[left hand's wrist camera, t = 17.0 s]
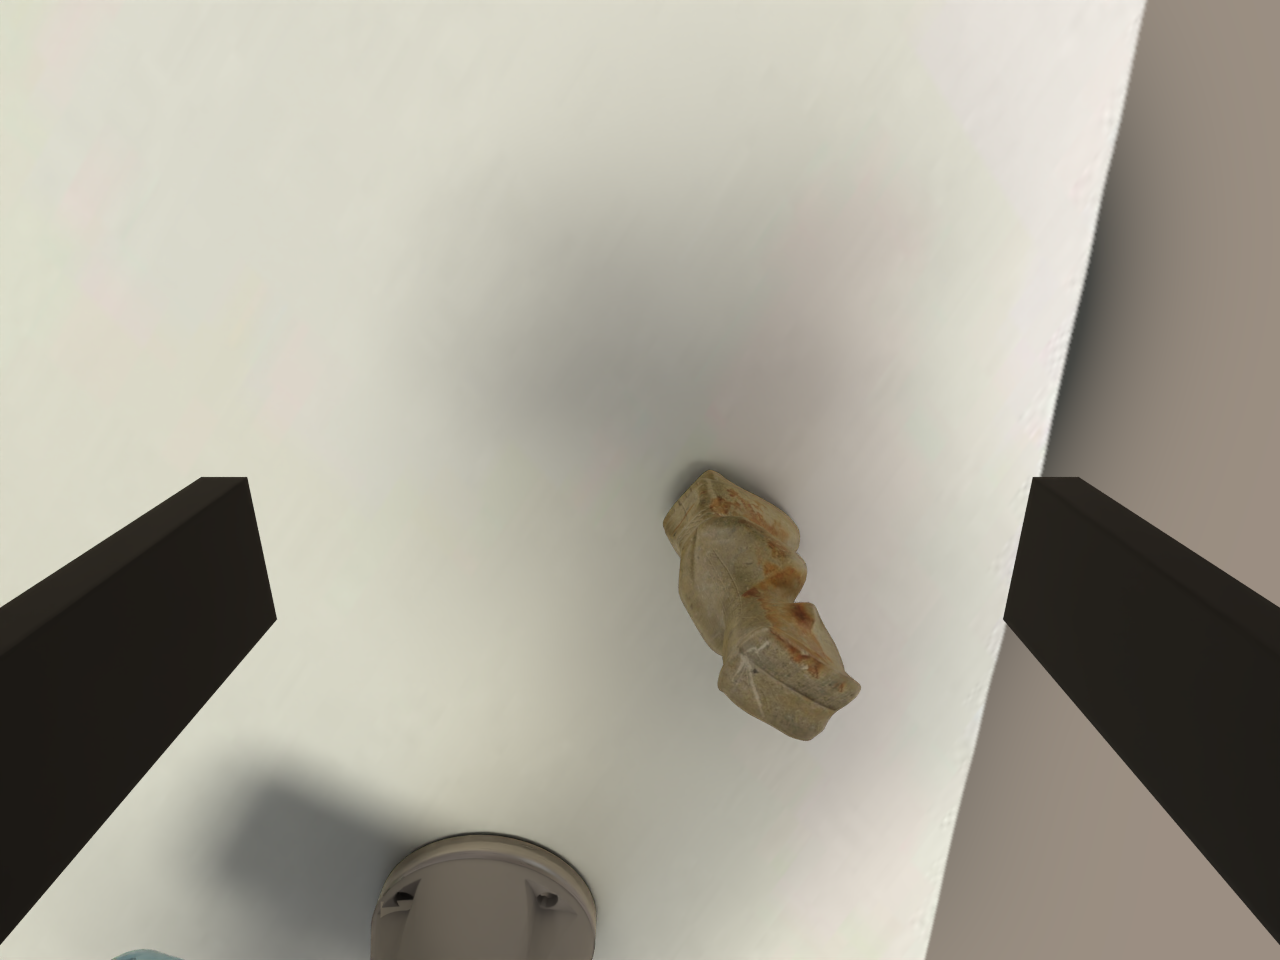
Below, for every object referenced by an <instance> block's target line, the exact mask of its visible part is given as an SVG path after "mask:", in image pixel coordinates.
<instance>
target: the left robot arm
mask: <svg viewBox="0 0 1280 960" xmlns="http://www.w3.org/2000/svg"><path fill="white" fill-rule="evenodd" d="M276 620H277V617H276V612H275V608H274V603H273V598H272V593H271V589H270V584H269V579H268V574H267V570H266V565H265V560H264V555H263V550H262V546H261V541H260V536H259V531H258V527H257V522H256V517H255V512H254V507H253V503H252V498H251V493H250V488H249V484H248V479H247V477H201V478H199V479H198V480H196V481H195V482H193V483H191V484H190V485H188V486H187V487H185V488H184V489H182V490H181V491H179V492H178V493H176V494H175V495H173V496H171V497H170V498H168V499H167V500H165V501H164V502H162V503H161V504H159V505H158V506H156V507H155V508H153V509H151V510H150V511H148V512H147V513H145V514H144V515H142V516H141V517H139V518H138V519H136V520H135V521H133V522H131V523H130V524H128V525H127V526H125V527H124V528H122V529H121V530H119V531H118V532H116V533H115V534H113V535H111V536H110V537H108V538H107V539H105V540H104V541H102V542H101V543H99V544H98V545H96V546H94V547H93V548H91V549H90V550H88V551H87V552H85V553H84V554H82V555H81V556H79V557H78V558H76V559H74V560H73V561H71V562H70V563H68V564H67V565H65V566H64V567H62V568H61V569H59V570H58V571H56V572H54V573H53V574H51V575H50V576H48V577H47V578H45V579H44V580H42V581H41V582H39V583H38V584H36V585H34V586H33V587H31V588H30V589H28V590H27V591H25V592H24V593H22V594H21V595H19V596H18V597H16V598H14V599H13V600H11V601H10V602H8V603H7V604H5V605H4V606H2V607H1V608H0V945H1V943H2V942H3V941H4V940H5V939H6V938H7V936H8V935H9V934H10V933H11V932H12V930H13V929H14V928H15V927H16V926H17V925H18V923H19V922H20V921H21V920H22V919H23V918H24V916H25V915H26V914H27V913H28V912H29V910H30V909H31V908H32V907H33V906H34V905H35V903H36V902H37V901H38V900H39V899H40V898H41V896H42V895H43V894H44V893H45V892H46V890H47V889H48V888H49V887H50V886H51V885H52V883H53V882H54V881H55V880H56V879H57V878H58V876H59V875H60V874H61V873H62V872H63V870H64V869H65V868H66V867H67V866H68V865H69V863H70V862H71V861H72V860H73V859H74V858H75V856H76V855H77V854H78V853H79V852H80V850H81V849H82V848H83V847H84V846H85V845H86V843H87V842H88V841H89V840H90V839H91V838H92V836H93V835H94V834H95V833H96V832H97V830H98V829H99V828H100V827H101V826H102V825H103V823H104V822H105V821H106V820H107V819H108V818H109V816H110V815H111V814H112V813H113V812H114V810H115V809H116V808H117V807H118V806H119V805H120V803H121V802H122V801H123V800H124V799H125V798H126V796H127V795H128V794H129V793H130V792H131V790H132V789H133V788H134V787H135V786H136V785H137V783H138V782H139V781H140V780H141V779H142V778H143V776H144V775H145V774H146V773H147V772H148V770H149V769H150V768H151V767H152V766H153V765H154V763H155V762H156V761H157V760H158V759H159V758H160V756H161V755H162V754H163V753H164V752H165V750H166V749H167V748H168V747H169V746H170V745H171V743H172V742H173V741H174V740H175V739H176V738H177V736H178V735H179V734H180V733H181V732H182V730H183V729H184V728H185V727H186V726H187V725H188V723H189V722H190V721H191V720H192V719H193V718H194V716H195V715H196V714H197V713H198V712H199V710H200V709H201V708H202V707H203V706H204V705H205V703H206V702H207V701H208V700H209V699H210V698H211V696H212V695H213V694H214V693H215V692H216V690H217V689H218V688H219V687H220V686H221V685H222V683H223V682H224V681H225V680H226V679H227V678H228V676H229V675H230V674H231V673H232V672H233V670H234V669H235V668H236V667H237V666H238V665H239V663H240V662H241V661H242V660H243V659H244V658H245V656H246V655H247V654H248V653H249V652H250V650H251V649H252V648H253V647H254V646H255V645H256V643H257V642H258V641H259V640H260V639H261V638H262V636H263V635H264V634H265V633H266V632H267V630H268V629H269V628H270V627H271V626H272V625H273V623H274V622H275V621H276ZM1003 620H1004V621H1005V622H1006V623H1007V625H1008V626H1009V627H1010V628H1011V629H1012V630H1013V632H1014V633H1015V634H1016V635H1017V636H1018V638H1019V639H1020V640H1021V641H1022V642H1023V643H1024V645H1025V646H1026V647H1027V648H1028V649H1029V650H1030V652H1031V653H1032V654H1033V655H1034V656H1035V658H1036V659H1037V660H1038V661H1039V662H1040V663H1041V664H1042V666H1043V667H1044V668H1045V669H1046V670H1047V672H1048V673H1049V674H1050V675H1051V676H1052V678H1053V679H1054V680H1055V681H1056V682H1057V683H1058V685H1059V686H1060V687H1061V688H1062V689H1063V690H1064V692H1065V693H1066V694H1067V695H1068V696H1069V697H1070V699H1071V700H1072V701H1073V702H1074V703H1075V704H1076V706H1077V707H1078V708H1079V709H1080V710H1081V712H1082V713H1083V714H1084V715H1085V716H1086V718H1087V719H1088V720H1089V721H1090V722H1091V723H1092V725H1093V726H1094V727H1095V728H1096V729H1097V730H1098V732H1099V733H1100V734H1101V735H1102V736H1103V738H1104V739H1105V740H1106V741H1107V742H1108V743H1109V745H1110V746H1111V747H1112V748H1113V749H1114V750H1115V752H1116V753H1117V754H1118V755H1119V756H1120V757H1121V759H1122V760H1123V761H1124V762H1125V763H1126V765H1127V766H1128V767H1129V768H1130V769H1131V770H1132V772H1133V773H1134V774H1135V775H1136V776H1137V778H1138V779H1139V780H1140V781H1141V782H1142V783H1143V785H1144V786H1145V787H1146V788H1147V789H1148V790H1149V792H1150V793H1151V794H1152V795H1153V796H1154V797H1155V799H1156V800H1157V801H1158V802H1159V803H1160V805H1161V806H1162V807H1163V808H1164V809H1165V810H1166V812H1167V813H1168V814H1169V815H1170V816H1171V818H1172V819H1173V820H1174V821H1175V822H1176V823H1177V825H1178V826H1179V827H1180V828H1181V829H1182V830H1183V832H1184V833H1185V834H1186V835H1187V836H1188V838H1189V839H1190V840H1191V841H1192V842H1193V843H1194V845H1195V846H1196V847H1197V848H1198V849H1199V850H1200V852H1201V853H1202V854H1203V855H1204V856H1205V858H1206V859H1207V860H1208V861H1209V862H1210V863H1211V865H1212V866H1213V867H1214V868H1215V869H1216V870H1217V872H1218V873H1219V874H1220V875H1221V876H1222V878H1223V879H1224V880H1225V881H1226V882H1227V883H1228V885H1229V886H1230V887H1231V888H1232V889H1233V890H1234V892H1235V893H1236V894H1237V895H1238V896H1239V898H1240V899H1241V900H1242V901H1243V902H1244V903H1245V905H1246V906H1247V907H1248V908H1249V909H1250V910H1251V912H1252V913H1253V914H1254V915H1255V916H1256V918H1257V919H1258V920H1259V921H1260V922H1261V923H1262V925H1263V926H1264V927H1265V928H1266V929H1267V930H1268V932H1269V933H1270V934H1271V935H1272V936H1273V938H1274V939H1275V940H1276V941H1277V942H1278V943H1279V945H1280V608H1279V607H1278V606H1276V605H1275V604H1273V603H1272V602H1270V601H1269V600H1267V599H1266V598H1264V597H1262V596H1261V595H1259V594H1258V593H1256V592H1255V591H1253V590H1252V589H1250V588H1249V587H1247V586H1246V585H1244V584H1242V583H1241V582H1239V581H1238V580H1236V579H1235V578H1233V577H1232V576H1230V575H1228V574H1227V573H1226V572H1224V571H1222V570H1221V569H1219V568H1218V567H1216V566H1215V565H1213V564H1212V563H1210V562H1209V561H1207V560H1206V559H1204V558H1202V557H1201V556H1199V555H1198V554H1196V553H1195V552H1193V551H1192V550H1190V549H1189V548H1187V547H1186V546H1184V545H1182V544H1181V543H1179V542H1178V541H1176V540H1175V539H1173V538H1172V537H1170V536H1169V535H1167V534H1165V533H1164V532H1162V531H1161V530H1159V529H1158V528H1156V527H1155V526H1153V525H1152V524H1150V523H1149V522H1147V521H1145V520H1144V519H1142V518H1141V517H1139V516H1138V515H1136V514H1135V513H1133V512H1132V511H1130V510H1129V509H1127V508H1125V507H1124V506H1122V505H1121V504H1119V503H1118V502H1116V501H1115V500H1113V499H1112V498H1110V497H1108V496H1107V495H1105V494H1104V493H1102V492H1101V491H1099V490H1098V489H1096V488H1095V487H1093V486H1092V485H1090V484H1089V483H1087V482H1085V481H1084V480H1082V479H1081V478H1079V477H1033V479H1032V484H1031V488H1030V493H1029V498H1028V503H1027V507H1026V512H1025V517H1024V522H1023V527H1022V531H1021V536H1020V541H1019V546H1018V550H1017V555H1016V560H1015V565H1014V570H1013V574H1012V579H1011V584H1010V589H1009V593H1008V598H1007V603H1006V608H1005V612H1004V617H1003ZM595 934H596V908H595V904H594V900H593V898H592V895H591V893H590V891H589V889H588V887H587V885H586V884H585V882H584V881H583V879H582V878H581V877H580V876H579V875H578V874H577V872H576V871H575V870H574V869H572V868H571V867H570V866H569V865H568V864H567V863H565V862H564V861H563V860H562V859H560V858H559V857H557V856H555V855H554V854H552V853H550V852H548V851H547V850H545V849H543V848H540V847H538V846H536V845H533V844H530V843H527V842H524V841H521V840H517V839H513V838H508V837H502V836H494V835H466V836H458V837H452V838H447V839H444V840H440V841H437V842H434V843H431V844H429V845H426V846H424V847H422V848H420V849H418V850H416V851H415V852H413V853H411V854H410V855H409V856H407V857H406V858H405V859H403V860H402V861H401V862H400V863H399V864H398V865H397V866H396V867H395V868H394V869H393V871H392V872H391V873H390V875H389V876H388V878H387V880H386V882H385V884H384V886H383V889H382V891H381V894H380V897H379V899H378V902H377V905H376V908H375V910H374V914H373V917H372V922H371V960H592V958H593V954H594V949H595ZM112 960H183V959H180V958H177V957H173V956H170V955H167V954H164V953H161V952H158V951H155V950H149V949H141V950H134V951H130V952H126V953H124V954H121V955H119V956H117V957H115V958H114V959H112Z"/></svg>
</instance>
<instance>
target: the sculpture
mask: <svg viewBox="0 0 1280 960" xmlns="http://www.w3.org/2000/svg"><path fill="white" fill-rule="evenodd" d="M663 527H664V529H665V533H666V535H667V537H668V538H669V540H670V542H671V544H672V546H673V548H674V549H675V551H676V552H677V554H678V555H679V557H680V558H681V561H680V571H679V595H680V598H681V600H682V602H683V604H684V606H685V608H686V610H687V611H688V613H689V615H690V617H691V619H692V620H693V622H694V624H695V625H696V627H697V629H698V631H699V632H700V634H701V636H702V637H703V639H704V640H705V642H706V643H707V644H708V646H709V647H710V648H711V649H712V650H713V651H714V652H716V653H717V654H719V655H721V656H723V667H722V669H721V671H720V674H719V678H718V688H719V690H720V691H722V692H724V693H725V694H726V695H727V696H728V698H729V699H730V700H731V701H732V702H733V703H734V704H736V705H737V706H738V707H740V708H741V709H742V710H744V711H745V712H747V713H748V714H750V715H752V716H754V717H756V718H758V719H759V720H761V721H763V722H765V723H767V724H769V725H771V726H773V727H774V728H776V729H778V730H779V731H781V732H783V733H784V734H786V735H788V736H789V737H792V738H795V739H799V740H803V741H809V740H811V739H812V738H814V737H815V736H816V735H818V734H819V733H820V732H822V731H823V730H824V728H825V726H826V724H827V722H828V720H829V719H830V718H831V716H832V715H833V714H834V713H835V712H836V711H838V710H839V709H841V708H843V707H844V706H846V705H847V704H848V703H850V702H851V701H852V700H853V699H854V698H856V696H857V695H858V694H859V692H860V690H861V686H860V684H859V683H858V682H856V681H855V680H854V679H853V678H851V677H850V676H849V675H848V674H847V673H846V672H845V670H844V666H843V663H842V660H841V657H840V654H839V652H838V650H837V647H836V645H835V643H834V641H833V639H832V638H831V636H830V634H829V633H828V631H827V630H826V628H825V626H824V624H823V622H822V620H821V618H820V616H819V614H818V611H817V609H816V607H815V605H813V604H812V603H809V602H801V603H794V600H795V598H796V597H797V595H798V594H799V592H800V590H801V589H802V587H803V585H804V583H805V580H806V576H807V567H806V563H805V562H804V560H803V559H802V558H801V557H800V556H799V555H798V554H797V553H796V551H797V549H798V547H799V542H800V533H799V530H798V528H797V526H796V525H795V523H794V522H793V521H792V519H791V518H790V517H789V516H787V515H786V514H785V513H784V512H783V511H781V510H780V509H779V508H777V507H776V506H774V505H773V504H771V503H769V502H767V501H766V500H764V499H762V498H760V497H758V496H756V495H755V494H752V493H750V492H748V491H746V490H744V489H742V488H740V487H738V486H737V485H735V484H733V483H732V482H730V481H729V480H727V479H726V478H724V477H723V476H722V475H721V474H719V473H718V472H715V471H712V470H707V471H706V472H704V473H703V474H702V475H701V476H700V477H699V478H698V479H697V480H696V481H695V482H694V483H693V484H692V485H691V486H690V487H689V488H688V490H687V491H686V492H685V493H684V494H683V495H682V496H681V497H680V498H679V499H678V501H677V502H676V503H675V504H674V505H673V507H672V508H671V509H670V511H669V512H668V514H667V516H666V517H665V519H664V521H663Z"/></svg>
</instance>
